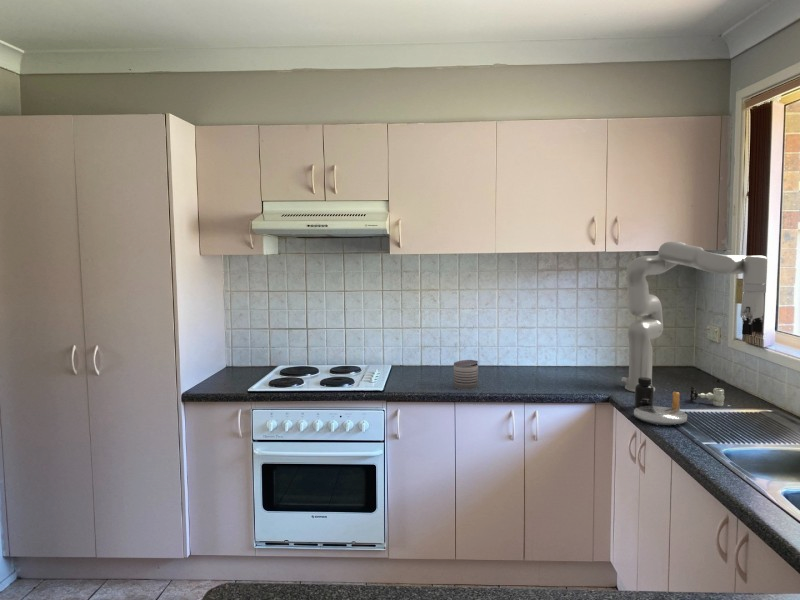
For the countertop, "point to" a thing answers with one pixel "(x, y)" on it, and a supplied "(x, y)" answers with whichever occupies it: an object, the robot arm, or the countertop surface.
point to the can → (466, 374)
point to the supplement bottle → (644, 392)
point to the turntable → (662, 413)
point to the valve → (710, 396)
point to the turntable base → (657, 423)
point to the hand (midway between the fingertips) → (752, 333)
